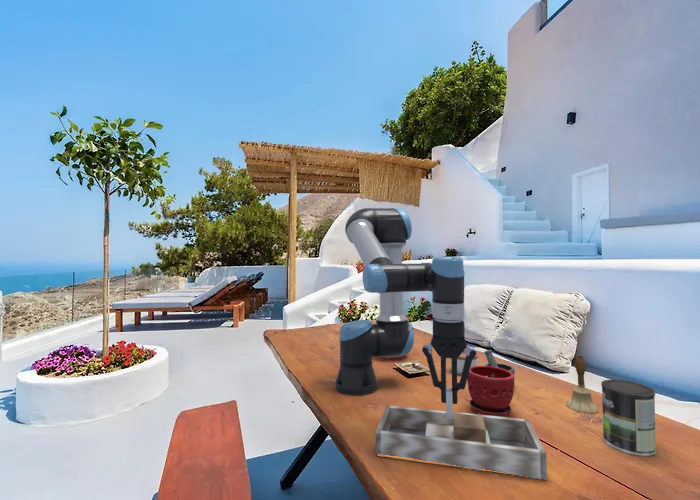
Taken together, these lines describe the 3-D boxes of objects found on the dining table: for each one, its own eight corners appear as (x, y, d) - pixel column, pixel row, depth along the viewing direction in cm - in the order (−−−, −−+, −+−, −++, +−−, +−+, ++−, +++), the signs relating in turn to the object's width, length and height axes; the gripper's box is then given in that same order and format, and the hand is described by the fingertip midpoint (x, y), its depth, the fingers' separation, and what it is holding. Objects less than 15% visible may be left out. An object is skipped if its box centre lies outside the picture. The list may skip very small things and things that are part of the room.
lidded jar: (463, 379, 131) (462, 354, 132) (444, 370, 141) (443, 347, 141) (484, 374, 136) (483, 350, 136) (464, 367, 146) (464, 344, 146)
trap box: (375, 456, 81) (375, 432, 81) (386, 425, 96) (386, 405, 96) (547, 480, 72) (546, 453, 72) (529, 441, 87) (529, 419, 87)
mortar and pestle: (520, 389, 121) (520, 354, 121) (501, 393, 117) (500, 358, 117) (495, 379, 131) (494, 347, 131) (476, 383, 127) (475, 350, 127)
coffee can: (610, 451, 82) (608, 391, 82) (597, 431, 91) (596, 377, 92) (665, 460, 78) (663, 397, 78) (646, 438, 87) (645, 382, 88)
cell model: (417, 354, 166) (417, 330, 166) (400, 365, 149) (399, 339, 149) (385, 349, 175) (385, 327, 175) (366, 359, 158) (365, 334, 158)
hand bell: (588, 416, 100) (587, 360, 100) (560, 405, 107) (558, 353, 108) (604, 409, 104) (603, 356, 104) (575, 399, 111) (574, 349, 112)
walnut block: (454, 445, 81) (453, 426, 81) (453, 431, 87) (453, 413, 87) (486, 449, 79) (485, 429, 79) (482, 434, 85) (482, 416, 86)
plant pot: (512, 425, 95) (511, 381, 95) (463, 414, 102) (462, 373, 102) (517, 407, 106) (516, 368, 106) (473, 398, 113) (472, 361, 113)
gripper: (420, 321, 83) (421, 420, 83) (478, 323, 79) (479, 426, 79) (422, 315, 90) (423, 406, 90) (475, 317, 87) (476, 412, 87)
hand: (449, 416), depth 85 cm, fingers closed
